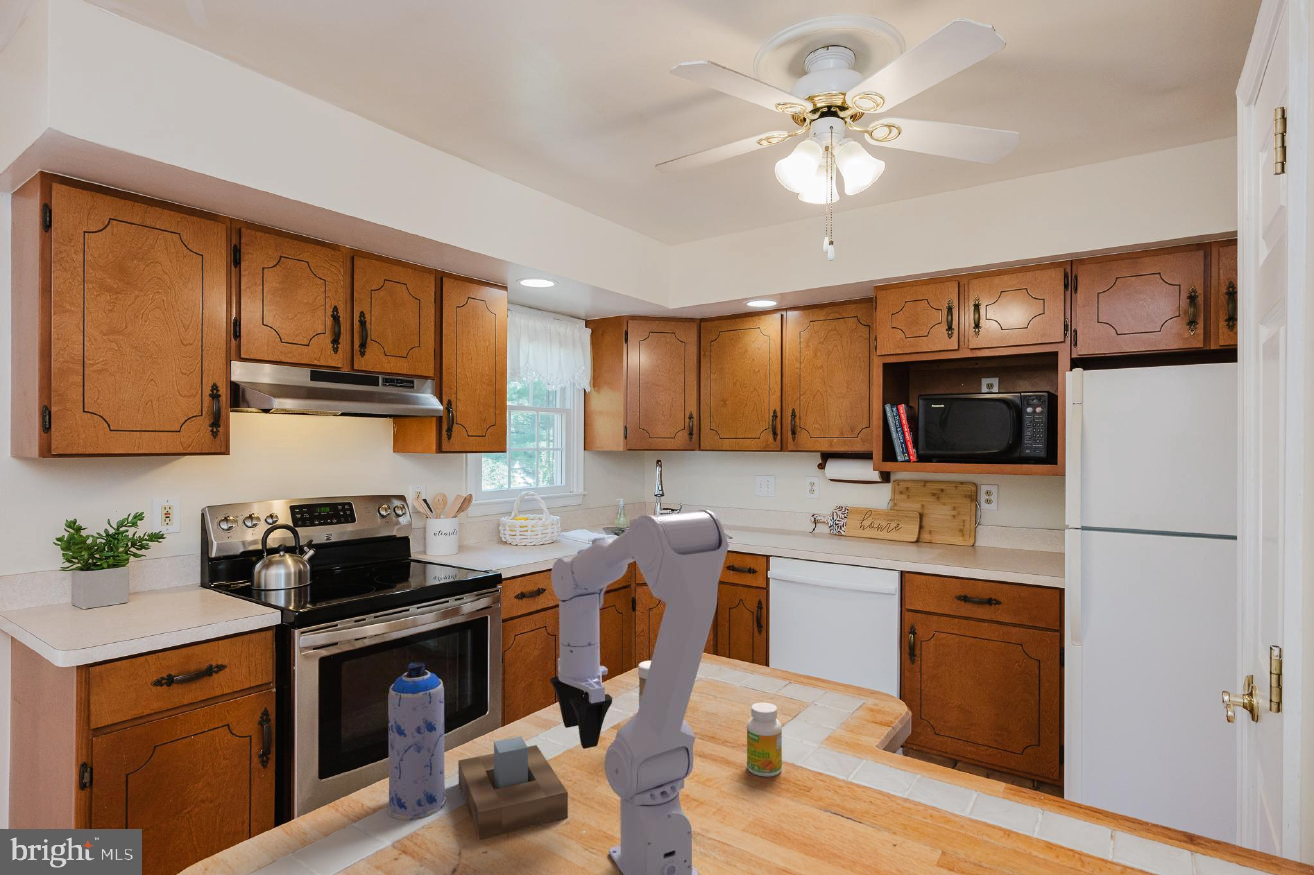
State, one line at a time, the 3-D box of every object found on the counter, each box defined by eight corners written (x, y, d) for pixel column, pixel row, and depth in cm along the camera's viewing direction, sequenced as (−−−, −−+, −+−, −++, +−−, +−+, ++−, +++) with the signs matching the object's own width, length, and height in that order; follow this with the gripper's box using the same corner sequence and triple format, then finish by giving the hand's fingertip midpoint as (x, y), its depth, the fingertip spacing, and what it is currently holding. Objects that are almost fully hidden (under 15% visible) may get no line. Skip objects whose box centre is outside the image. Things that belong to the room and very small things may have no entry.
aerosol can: (457, 799, 101) (456, 660, 101) (413, 826, 94) (412, 677, 94) (420, 785, 105) (419, 652, 105) (375, 810, 98) (374, 667, 98)
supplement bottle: (741, 772, 109) (741, 710, 108) (753, 758, 113) (753, 698, 113) (775, 780, 106) (775, 716, 106) (786, 765, 111) (786, 704, 111)
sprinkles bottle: (670, 744, 118) (670, 665, 118) (647, 751, 116) (647, 670, 116) (655, 734, 122) (655, 657, 122) (633, 741, 120) (633, 662, 120)
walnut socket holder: (567, 817, 96) (567, 792, 96) (479, 839, 91) (478, 812, 91) (536, 767, 111) (536, 745, 111) (458, 783, 106) (458, 760, 105)
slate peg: (528, 803, 100) (527, 747, 100) (499, 810, 98) (499, 753, 98) (521, 790, 103) (521, 736, 103) (494, 796, 102) (493, 741, 102)
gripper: (625, 651, 96) (626, 750, 96) (588, 625, 109) (589, 713, 109) (576, 658, 92) (577, 761, 92) (544, 631, 106) (545, 721, 106)
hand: (580, 736), depth 100 cm, fingers open, 7 cm apart
